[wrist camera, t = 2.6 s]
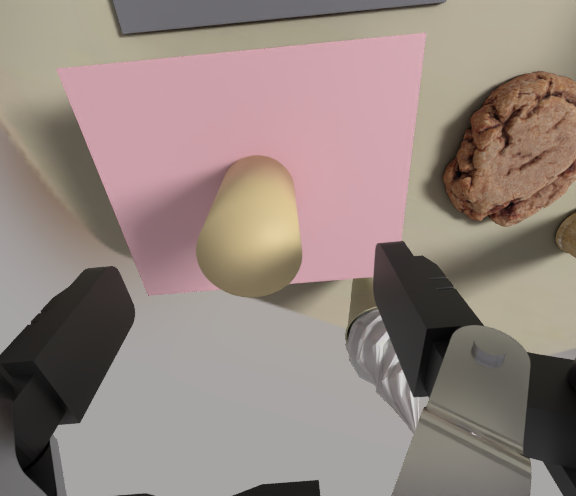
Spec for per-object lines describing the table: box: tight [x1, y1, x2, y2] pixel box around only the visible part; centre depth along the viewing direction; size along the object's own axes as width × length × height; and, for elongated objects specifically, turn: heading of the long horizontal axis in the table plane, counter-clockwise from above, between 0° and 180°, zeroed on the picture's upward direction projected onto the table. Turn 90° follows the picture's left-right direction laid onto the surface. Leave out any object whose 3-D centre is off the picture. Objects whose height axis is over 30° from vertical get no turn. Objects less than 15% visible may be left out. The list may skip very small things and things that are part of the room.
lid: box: [57, 33, 426, 297], centre depth 14 cm, size 12×15×8 cm
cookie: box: [443, 71, 576, 227], centre depth 23 cm, size 10×11×3 cm
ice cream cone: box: [345, 277, 419, 434], centre depth 22 cm, size 5×5×15 cm
